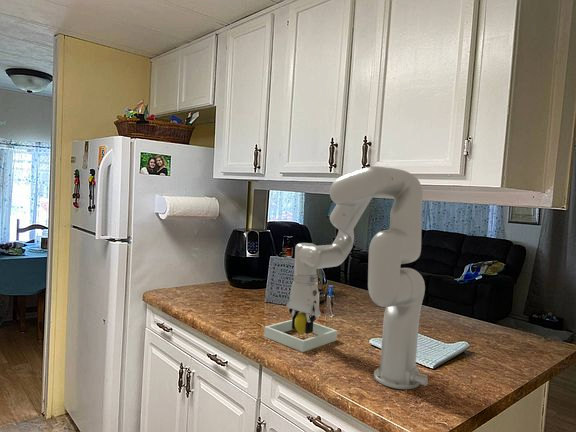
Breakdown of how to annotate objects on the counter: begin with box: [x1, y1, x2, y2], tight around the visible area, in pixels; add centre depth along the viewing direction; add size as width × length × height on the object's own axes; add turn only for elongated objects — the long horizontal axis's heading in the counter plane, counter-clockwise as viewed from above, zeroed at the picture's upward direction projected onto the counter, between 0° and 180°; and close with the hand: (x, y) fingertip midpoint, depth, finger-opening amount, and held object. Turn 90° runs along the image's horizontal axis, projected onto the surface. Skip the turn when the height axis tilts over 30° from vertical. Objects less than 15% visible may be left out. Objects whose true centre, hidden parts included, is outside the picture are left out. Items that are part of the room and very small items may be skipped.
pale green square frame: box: [263, 319, 338, 353], centre depth 149 cm, size 18×18×4 cm
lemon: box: [294, 312, 307, 335], centre depth 148 cm, size 6×6×8 cm
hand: (302, 330), depth 148 cm, fingers closed on lemon, 5 cm apart
